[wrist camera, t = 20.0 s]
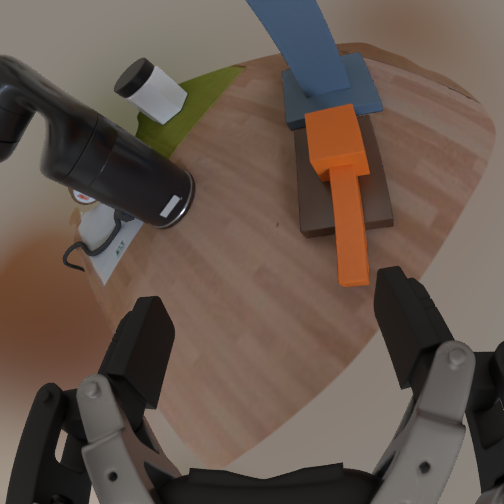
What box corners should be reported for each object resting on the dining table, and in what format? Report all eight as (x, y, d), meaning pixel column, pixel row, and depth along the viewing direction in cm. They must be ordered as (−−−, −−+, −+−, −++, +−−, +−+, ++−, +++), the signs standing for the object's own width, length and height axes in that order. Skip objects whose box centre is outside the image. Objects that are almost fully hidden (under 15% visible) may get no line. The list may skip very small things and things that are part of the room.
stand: (290, 130, 33) (124, -61, 7) (285, 78, 36) (163, -74, 10) (383, 110, 27) (273, -132, 2) (362, 60, 30) (267, -119, 5)
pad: (306, 237, 28) (300, 231, 27) (299, 140, 32) (293, 131, 30) (393, 226, 24) (393, 218, 23) (371, 125, 28) (368, 114, 26)
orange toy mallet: (329, 288, 24) (317, 281, 21) (316, 136, 28) (304, 114, 25) (384, 283, 22) (383, 275, 18) (359, 127, 26) (352, 103, 23)
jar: (185, 85, 49) (146, 50, 38) (191, 103, 45) (147, 65, 35) (153, 111, 51) (113, 81, 41) (155, 132, 48) (110, 100, 38)
